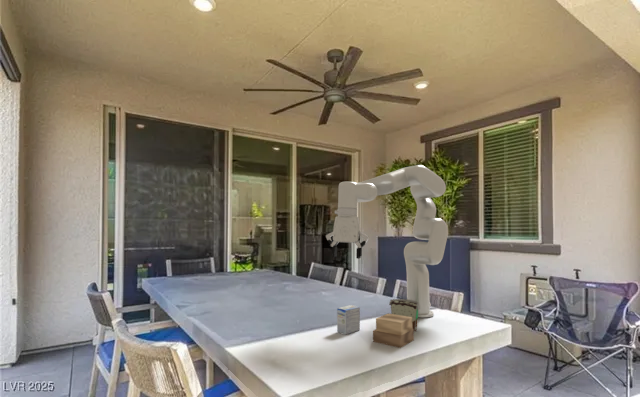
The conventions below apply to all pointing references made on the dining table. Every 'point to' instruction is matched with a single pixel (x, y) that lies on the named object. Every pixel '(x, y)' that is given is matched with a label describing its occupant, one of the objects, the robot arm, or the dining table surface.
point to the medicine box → (348, 319)
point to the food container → (406, 309)
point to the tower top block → (394, 324)
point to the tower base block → (393, 338)
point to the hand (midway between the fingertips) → (346, 257)
